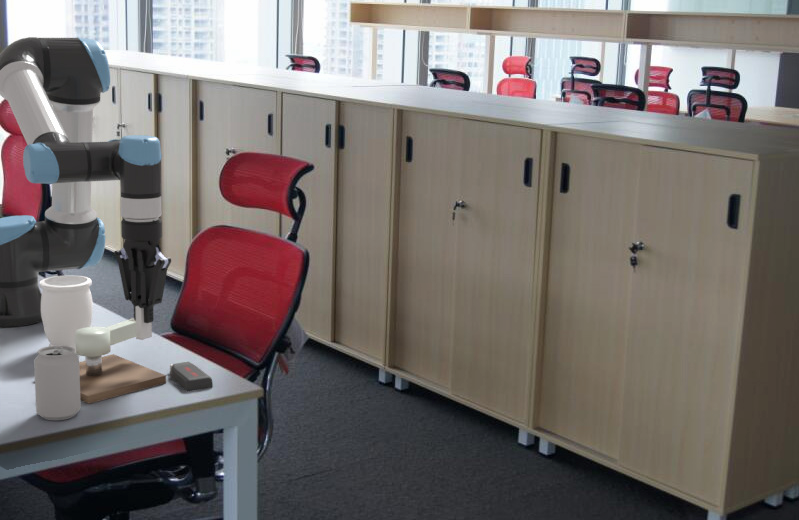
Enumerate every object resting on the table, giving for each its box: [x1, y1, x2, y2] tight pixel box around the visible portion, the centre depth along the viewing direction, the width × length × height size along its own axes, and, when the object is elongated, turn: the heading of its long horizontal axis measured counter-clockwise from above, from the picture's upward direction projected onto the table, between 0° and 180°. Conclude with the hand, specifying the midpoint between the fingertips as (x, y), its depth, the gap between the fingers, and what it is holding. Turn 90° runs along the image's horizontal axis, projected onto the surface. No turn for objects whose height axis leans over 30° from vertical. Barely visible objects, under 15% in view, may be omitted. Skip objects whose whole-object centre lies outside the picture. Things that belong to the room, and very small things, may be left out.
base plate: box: [79, 353, 167, 405], centre depth 203 cm, size 18×17×2 cm
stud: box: [84, 355, 103, 376], centre depth 202 cm, size 3×3×4 cm
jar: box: [39, 275, 94, 353], centre depth 220 cm, size 11×10×15 cm
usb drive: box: [169, 361, 214, 392], centre depth 205 cm, size 5×12×3 cm, turn 32°
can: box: [33, 345, 82, 421], centre depth 184 cm, size 8×8×12 cm
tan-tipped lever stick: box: [75, 317, 136, 357], centre depth 206 cm, size 16×6×4 cm, turn 152°
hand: (144, 337), depth 204 cm, fingers closed
